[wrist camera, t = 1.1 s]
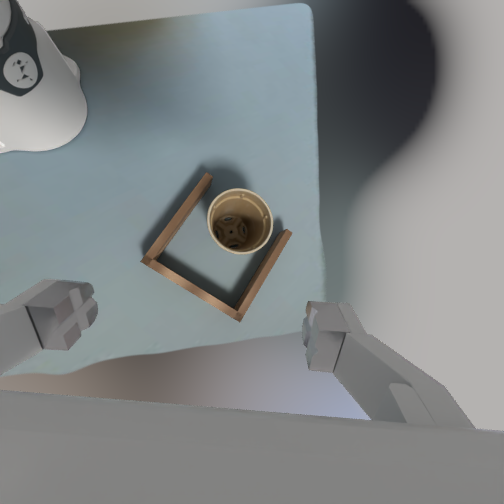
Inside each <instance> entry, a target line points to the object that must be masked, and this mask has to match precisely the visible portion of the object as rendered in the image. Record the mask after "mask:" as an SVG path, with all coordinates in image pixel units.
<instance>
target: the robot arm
mask: <svg viewBox="0 0 504 504" xmlns="http://www.w3.org/2000/svg"><path fill="white" fill-rule="evenodd" d="M86 117H87V103H86V99H85V96H84V94H83V92H82V89H81V87H80V69H79V67H78V66H77V64H76V63H75V62H74V61H73V60H72V59H70V58H68V57H66V56H64V55H62V54H61V53H60V51H59V50H58V48H57V47H56V45H55V44H54V42H53V41H52V39H51V38H50V36H49V35H48V33H47V32H46V30H45V29H44V28H43V27H42V25H41V24H40V23H38V22H35V21H33V20H32V19H30V18H29V17H27V16H26V15H25V12H24V11H23V9H22V7H21V6H20V5H19V3H18V2H17V0H0V153H4V152H8V151H12V150H23V151H45V150H51V149H54V148H57V147H60V146H62V145H64V144H66V143H68V142H69V141H71V140H72V139H73V138H75V137H76V136H77V135H78V133H79V132H80V131H81V129H82V128H83V126H84V124H85V121H86ZM93 294H94V289H93V286H92V285H91V284H90V283H88V282H78V281H68V280H58V279H44V280H42V281H40V282H39V283H37V284H36V285H34V286H33V287H31V288H29V289H28V290H26V291H25V292H23V293H22V294H20V295H19V296H17V297H15V298H14V299H12V300H11V301H9V302H8V303H6V304H0V375H2V374H3V373H5V372H7V371H9V370H10V369H12V368H14V367H15V366H17V365H19V364H20V363H22V362H24V361H26V360H27V359H29V358H31V357H32V356H34V355H36V354H37V353H39V352H41V351H42V350H43V349H49V350H69V349H70V348H71V347H72V346H73V345H74V343H75V342H76V341H77V340H78V339H79V338H80V337H81V331H83V330H85V329H87V328H89V327H90V326H91V325H92V324H93V322H94V321H95V319H96V317H97V314H98V305H97V302H96V301H95V300H94V299H93V298H92V295H93ZM306 314H307V317H306V318H304V320H303V325H302V338H303V344H304V346H306V348H307V350H306V359H307V364H308V368H309V370H312V371H320V372H330V373H333V374H334V375H335V377H336V378H337V379H338V380H339V381H340V383H341V384H342V385H343V386H344V387H345V389H346V390H347V391H348V392H349V393H350V395H351V396H352V397H353V398H354V399H355V401H356V402H357V403H358V404H359V405H360V407H361V408H362V409H363V410H364V411H365V412H366V414H367V415H368V416H369V417H370V418H371V420H362V419H350V418H338V417H326V416H313V415H302V414H289V413H276V412H265V411H253V410H252V411H251V410H240V409H228V408H215V407H203V406H191V405H179V404H165V403H153V402H142V401H130V400H117V399H104V398H92V397H81V396H68V395H55V394H44V393H31V392H19V391H7V390H0V504H504V431H498V430H484V429H476V428H475V427H474V425H473V424H472V423H471V422H470V420H469V419H468V417H467V416H466V415H465V413H464V412H463V411H462V409H461V408H460V407H459V405H458V404H457V403H456V401H455V400H454V399H453V397H452V396H451V394H450V393H449V392H448V390H447V389H446V388H445V386H443V385H442V384H440V383H439V382H438V381H436V380H435V379H433V378H432V377H431V376H429V375H428V374H426V373H425V372H424V371H422V370H421V369H419V368H418V367H416V366H415V365H413V364H412V363H411V362H409V361H408V360H407V359H405V358H404V357H402V356H401V355H399V354H398V353H397V352H395V351H394V350H392V349H391V348H390V347H388V346H387V345H385V344H384V343H382V342H381V341H380V340H378V339H377V338H375V337H374V336H373V335H369V334H367V333H366V331H365V330H364V328H363V326H362V324H361V322H360V321H359V319H358V317H357V315H356V313H355V312H354V310H353V308H352V306H351V305H350V304H349V303H330V302H329V303H328V302H315V301H308V303H307V306H306Z"/></svg>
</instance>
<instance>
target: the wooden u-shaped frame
mask: <svg viewBox="0 0 504 504" xmlns="http://www.w3.org/2000/svg"><path fill="white" fill-rule="evenodd" d="M212 178H213V176H211V175H210V174H208V173H207V172H206V173H205V175H204V176H203V177H202V179H201V180H200V181H199V183H198V184H197V186H196V187H195V188H194V190H193V191H192V192H191V194H190V195H189V196H188V198H187V199H186V200H185V202H184V203H183V204H182V206H181V207H180V209H179V210H178V211H177V213H176V214H175V215H174V217H173V218H172V219H171V221H170V222H169V223H168V225H167V226H166V228H165V229H164V230H163V232H162V233H161V234H160V236H159V237H158V238H157V240H156V241H155V242H154V244H153V245H152V247H151V248H150V249H149V251H148V252H147V253H146V255H145V256H144V257H143V259H142V260H141V261H140V262H142V263H144V264H145V265H147V266H148V267H150V268H152V269H153V270H155V271H157V272H158V273H160V274H162V275H163V276H165V277H166V278H168V279H170V280H171V281H173V282H175V283H176V284H178V285H180V286H181V287H183V288H184V289H186V290H188V291H189V292H191V293H193V294H194V295H196V296H198V297H199V298H201V299H202V300H204V301H206V302H207V303H209V304H211V305H212V306H214V307H216V308H217V309H219V310H220V311H222V312H224V313H225V314H227V315H229V316H230V317H232V318H234V319H235V320H237V321H239V322H240V321H241V320H242V318H243V316H244V315H245V313H246V311H247V310H248V308H249V306H250V304H251V303H252V301H253V299H254V298H255V296H256V294H257V293H258V291H259V289H260V287H261V286H262V284H263V282H264V281H265V279H266V277H267V275H268V274H269V272H270V270H271V269H272V267H273V265H274V264H275V262H276V260H277V258H278V257H279V255H280V253H281V252H282V250H283V248H284V247H285V245H286V243H287V241H288V240H289V238H290V236H291V235H292V232H290V231H289V230H288V229H286V230H284V231H282V232H280V233H279V234H278V236H277V238H276V239H275V241H274V243H273V244H272V246H271V248H270V249H269V251H268V252H267V254H266V256H265V257H264V259H263V261H262V262H261V264H260V266H259V267H258V269H257V271H256V272H255V274H254V276H253V277H252V279H251V281H250V282H249V284H248V286H247V287H246V289H245V291H244V292H243V294H242V296H241V297H240V299H239V301H238V302H237V304H236V306H235V307H234V309H233V308H232V307H230V306H228V305H227V304H225V303H223V302H222V301H220V300H219V299H217V298H215V297H214V296H212V295H211V294H209V293H207V292H206V291H204V290H202V289H201V288H199V287H198V286H196V285H194V284H193V283H191V282H189V281H188V280H186V279H185V278H183V277H181V276H180V275H178V274H177V273H175V272H173V271H172V270H170V269H168V268H167V267H165V266H164V265H162V264H160V263H159V262H157V261H156V260H157V259H158V258H159V256H160V255H161V253H162V252H163V251H164V249H165V248H166V246H167V245H168V244H169V242H170V241H171V239H172V238H173V237H174V235H175V234H176V233H177V231H178V230H179V228H180V227H181V226H182V224H183V223H184V221H185V220H186V219H187V217H188V216H189V215H190V213H191V212H192V210H193V209H194V208H195V206H196V205H197V203H198V202H199V201H200V199H201V198H202V196H203V195H204V194H205V192H206V191H207V190H208V188H209V187H210V185H211V182H212Z"/></svg>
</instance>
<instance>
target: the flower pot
mask: <svg viewBox="0 0 504 504" xmlns="http://www.w3.org/2000/svg"><path fill="white" fill-rule="evenodd" d="M225 218H231V220H227V221H225ZM207 225H208V229H209V232H210V234H211V236H212V238H213V240H214V241H215V242H216V243H217V244H218V245H219V246H220V247H221V248H223V249H224V250H226V251H228V252H231V253H234V254H249V253H252V252H255V251H257V250H259V249H260V248H262V247H263V246H264V245H265V244H266V243H267V241H268V240H269V238H270V236H271V234H272V230H273V217H272V213H271V211H270V208H269V206H268V205H267V203H266V202H265V201H264V200H263V199H262V197H260V196H259V195H258V194H256V193H254V192H252V191H250V190H247V189H242V188H235V189H230V190H227V191H224V192H222V193H221V194H219V195H218V196H217V197H216V198H215V199H214V200H213V201H212V203H211V205H210V207H209V210H208V214H207ZM243 227H244V229H245V233H244V232H243ZM215 231H218V236H219V238H217V236H216V233H215ZM230 231H232V233H230ZM236 244H237V245H238V246H237V247H235V248H231V247H230V246H232V245H236Z"/></svg>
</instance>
